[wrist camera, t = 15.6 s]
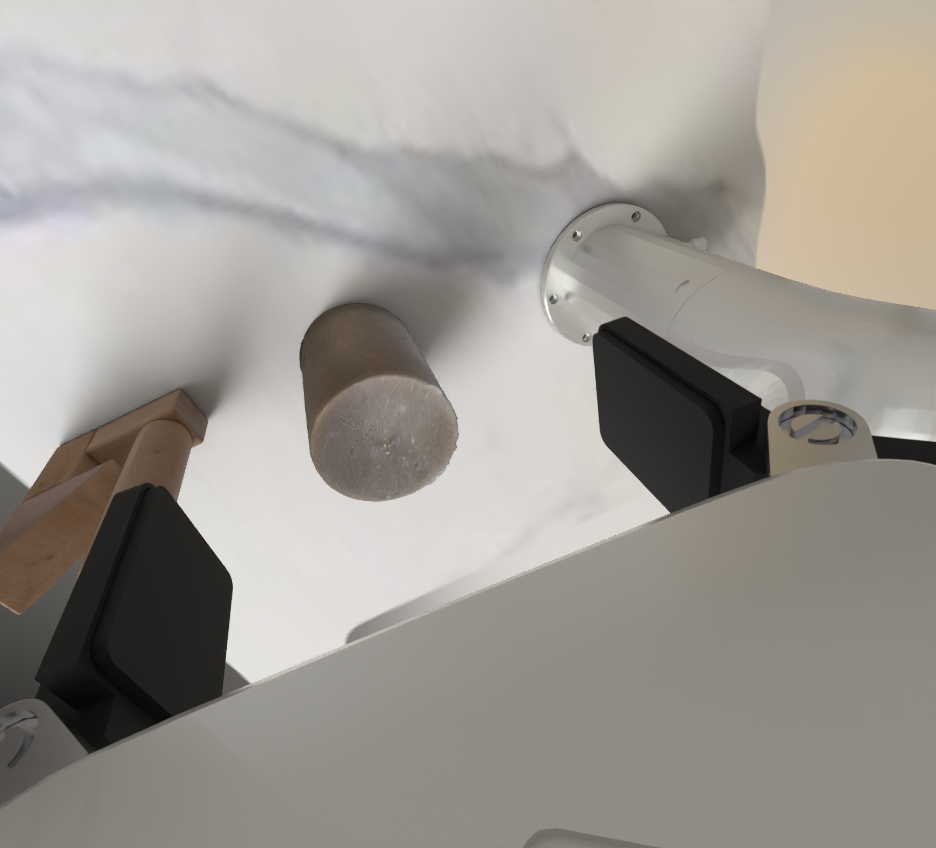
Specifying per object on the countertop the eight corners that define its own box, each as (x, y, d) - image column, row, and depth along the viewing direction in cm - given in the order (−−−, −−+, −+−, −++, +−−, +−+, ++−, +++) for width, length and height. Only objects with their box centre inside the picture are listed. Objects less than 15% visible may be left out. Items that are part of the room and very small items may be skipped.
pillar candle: (277, 376, 43) (278, 486, 31) (339, 277, 40) (367, 355, 28) (376, 423, 48) (410, 533, 36) (437, 338, 45) (495, 426, 33)
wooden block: (54, 447, 40) (-75, 641, 26) (181, 385, 41) (124, 542, 26) (90, 478, 43) (-10, 675, 28) (210, 420, 43) (173, 583, 28)
